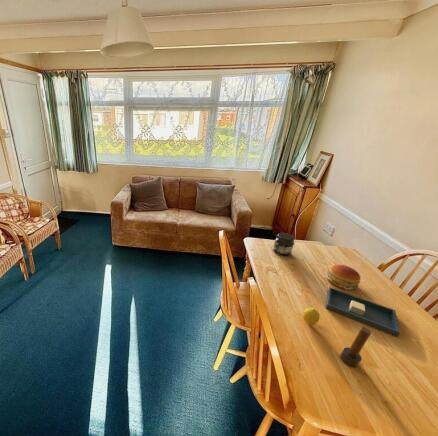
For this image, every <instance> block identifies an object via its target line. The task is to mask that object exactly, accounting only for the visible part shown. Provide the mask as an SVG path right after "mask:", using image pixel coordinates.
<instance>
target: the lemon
mask: <svg viewBox="0 0 438 436" xmlns="http://www.w3.org/2000/svg"><path fill="white" fill-rule="evenodd" d="M302 319H303V320H304V322H305V323H307V324H308V325H316V324H317V323H318V322H319V321H320V313H319V312H318V310H317V309H315V308H314V307H308V308H306V309H305V310H303V313H302Z"/></svg>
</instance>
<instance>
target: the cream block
mask: <svg viewBox="0 0 438 436" xmlns="http://www.w3.org/2000/svg"><path fill="white" fill-rule="evenodd" d="M349 311H351V312H354V313H356V314H359V315H362V316H363V314H364V312H365V305H364V304H361V303H358V302H356V301H353V300H352V301H351V303H350V305H349Z"/></svg>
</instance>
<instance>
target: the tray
mask: <svg viewBox="0 0 438 436" xmlns="http://www.w3.org/2000/svg"><path fill="white" fill-rule="evenodd" d="M326 294H327V295H326V301H325V310H328V311H330V312H333V313H337V314H338V315H340V316H344V317H345V318H348V319H351V320H353V321H356V322H358V323H361V324H364V325H365V326H368V327H371V328H373V329H376V330H378V331H381V332H383V333H384V334H385V333H386V334H388V335H391V336H393V337H396V338H399V336H400V334H401V330H400V326H399V321H398V317H397V312H396V310H395V309H393V308H391V307H388V306H384V305H382V304H379V303H376V302H373V301H370V300H368V299H365V298H361V297H359V296H356V295H353V294H351V293H347V292H344V291H341V290H339V289H336V288H333V287H330V286H329V287H328V289H327V293H326ZM352 300H353V301H356V302H358V303H361V304H364V305H365V312H364V314H363V316H362V315H359V314H356V313H354V312H351V311H349V305H350V303H351V301H352Z"/></svg>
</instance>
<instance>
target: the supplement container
mask: <svg viewBox="0 0 438 436" xmlns="http://www.w3.org/2000/svg"><path fill="white" fill-rule="evenodd" d="M295 240H296V237H295V236H294V235H292V234H291V233H288V232H279V233H278V234H277V235H276V237H275V240H274V243H273V248H272V251H273V252H274V253H275V254H276V253H277V255H278V254H279V256H281V255H282V256H281V257H289V256H291V255H292V253H293V252H292V251H293V249H294V246H295Z"/></svg>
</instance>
